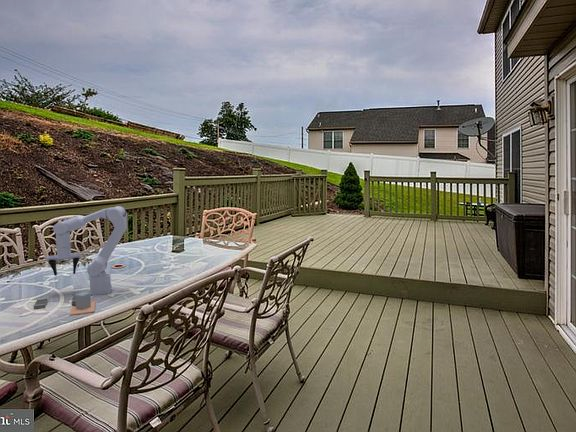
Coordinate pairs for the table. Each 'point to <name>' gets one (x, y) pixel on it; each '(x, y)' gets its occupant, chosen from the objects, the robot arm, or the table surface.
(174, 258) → the table surface
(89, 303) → the plug
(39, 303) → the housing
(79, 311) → the mat
